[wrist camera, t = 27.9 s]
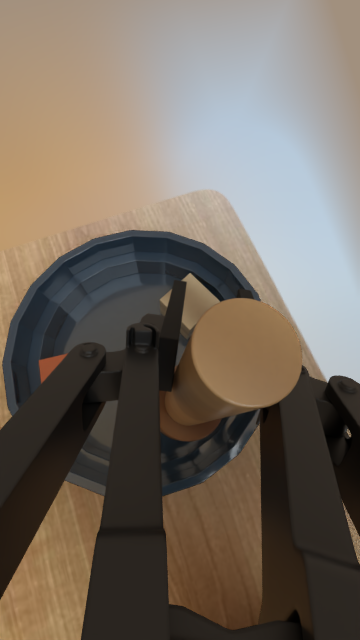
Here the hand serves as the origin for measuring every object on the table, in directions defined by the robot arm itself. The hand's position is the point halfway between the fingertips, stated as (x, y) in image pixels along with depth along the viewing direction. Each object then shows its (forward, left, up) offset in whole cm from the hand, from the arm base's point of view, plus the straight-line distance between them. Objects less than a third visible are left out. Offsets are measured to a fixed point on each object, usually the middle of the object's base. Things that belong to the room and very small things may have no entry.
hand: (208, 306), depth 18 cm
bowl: (+5, 0, -10) cm, 11 cm away
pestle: (+3, +5, -6) cm, 8 cm away
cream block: (0, -3, -9) cm, 9 cm away
